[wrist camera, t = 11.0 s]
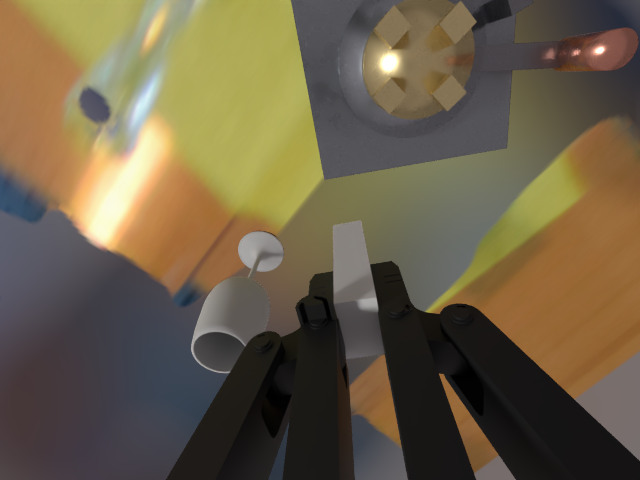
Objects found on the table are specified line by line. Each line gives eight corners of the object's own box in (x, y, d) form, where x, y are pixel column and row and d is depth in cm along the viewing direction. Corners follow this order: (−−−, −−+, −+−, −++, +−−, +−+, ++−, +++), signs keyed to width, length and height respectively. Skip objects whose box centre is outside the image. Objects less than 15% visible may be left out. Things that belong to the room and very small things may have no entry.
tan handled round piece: (361, 118, 38) (367, 127, 32) (362, 5, 33) (369, -12, 27) (563, 109, 37) (614, 116, 30) (596, -11, 32) (664, -33, 26)
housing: (285, -37, 35) (276, -57, 30) (518, -96, 32) (555, -130, 27) (324, 177, 46) (323, 191, 40) (503, 146, 43) (527, 156, 37)
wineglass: (294, 248, 51) (272, 348, 32) (267, 279, 54) (233, 388, 35) (254, 220, 49) (205, 310, 30) (228, 254, 52) (169, 356, 33)
